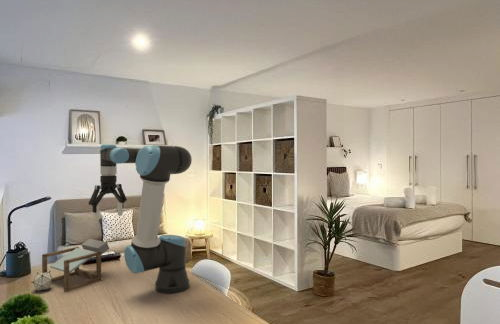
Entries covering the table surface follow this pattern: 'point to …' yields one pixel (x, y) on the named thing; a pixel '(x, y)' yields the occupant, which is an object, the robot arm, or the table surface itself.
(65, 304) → the table surface
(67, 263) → the frame
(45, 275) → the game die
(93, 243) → the chair seat
